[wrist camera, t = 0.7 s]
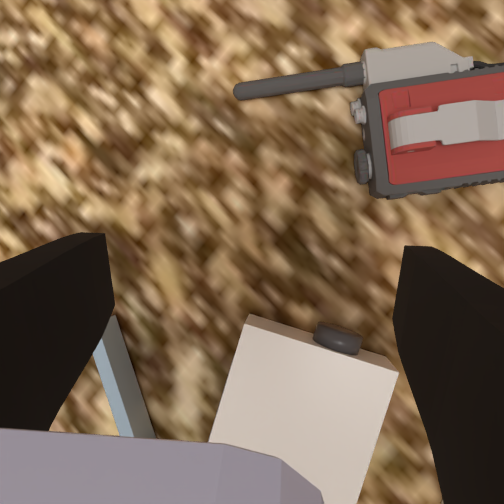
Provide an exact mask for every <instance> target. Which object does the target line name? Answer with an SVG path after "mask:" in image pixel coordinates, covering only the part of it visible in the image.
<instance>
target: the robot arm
mask: <svg viewBox="0 0 504 504" xmlns="http://www.w3.org/2000/svg"><path fill="white" fill-rule="evenodd" d="M114 306H115V301H114V294H113V287H112V280H111V272H110V265H109V258H108V251H107V244H106V237H105V233H83V232H81V233H76V234H72V235H69V236H66V237H63V238H60V239H57V240H55V241H52V242H50V243H47V244H45V245H42V246H40V247H37V248H35V249H32V250H30V251H28V252H25V253H23V254H20V255H18V256H15V257H13V258H10V259H8V260H5V261H2V262H0V504H324V501H323V497H322V494H321V491H320V490H319V489H318V488H317V487H315V486H314V485H313V484H312V483H310V482H309V481H308V480H307V479H305V478H304V477H303V476H302V475H300V474H299V473H298V472H297V471H295V470H294V469H293V468H292V467H290V466H289V465H288V464H287V463H285V462H284V461H283V460H282V459H280V458H278V457H276V456H272V455H268V454H264V453H260V452H257V451H253V450H249V449H245V448H241V447H237V446H234V445H230V444H226V443H211V442H197V441H183V440H168V439H154V438H140V437H125V436H111V435H97V434H82V433H68V432H54V431H49V429H50V426H51V424H52V422H53V421H54V419H55V417H56V415H57V413H58V411H59V409H60V408H61V406H62V404H63V403H64V401H65V399H66V398H67V396H68V394H69V393H70V391H71V389H72V388H73V386H74V384H75V383H76V381H77V379H78V377H79V376H80V374H81V372H82V371H83V369H84V367H85V366H86V364H87V362H88V361H89V359H90V357H91V356H92V354H93V352H94V350H95V349H96V347H97V345H98V344H99V342H100V340H101V338H102V336H103V334H104V332H105V329H106V327H107V324H108V322H109V319H110V317H111V314H112V311H113V309H114ZM392 319H393V325H394V331H395V337H396V342H397V347H398V352H399V355H400V358H401V362H402V364H403V367H404V370H405V373H406V376H407V379H408V382H409V385H410V388H411V390H412V393H413V396H414V399H415V402H416V405H417V407H418V410H419V413H420V416H421V419H422V422H423V424H424V427H425V430H426V433H427V436H428V440H429V443H430V446H431V450H432V454H433V458H434V462H435V467H436V471H437V476H438V480H439V484H440V489H441V493H442V498H443V503H444V504H504V288H502V287H501V286H499V285H497V284H495V283H494V282H492V281H490V280H489V279H487V278H485V277H484V276H482V275H480V274H479V273H477V272H475V271H474V270H472V269H470V268H469V267H467V266H465V265H464V264H462V263H461V262H459V261H457V260H456V259H454V258H452V257H451V256H449V255H447V254H445V253H444V252H442V251H440V250H438V249H436V248H433V247H428V246H404V252H403V258H402V264H401V270H400V276H399V282H398V288H397V294H396V300H395V306H394V312H393V318H392Z"/></svg>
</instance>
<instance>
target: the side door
mask: <svg viewBox="0 0 504 504" xmlns="http://www.w3.org/2000/svg"><path fill="white" fill-rule="evenodd" d="M93 356H94V359H95V362H96V365H97V368H98V371H99V374H100V377H101V380H102V383H103V386H104V389H105V392H106V395H107V398H108V401H109V404H110V407H111V411H112V414H113V417H114V420H115V423H116V426H117V429H118V432H119V435H120V436H125V437H140V438H154V439H156V437H155V434H154V431H153V428H152V425H151V421H150V418H149V415H148V412H147V409H146V406H145V403H144V400H143V397H142V394H141V391H140V388H139V385H138V382H137V379H136V376H135V373H134V370H133V367H132V364H131V361H130V358H129V355H128V352H127V349H126V346H125V343H124V340H123V337H122V333H121V330H120V327H119V324H118V321H117V318H116V315H114V316H111V317H110V319H109V322H108V324H107V327H106V329H105V332H104V334H103V336H102V338H101V340H100V342H99V344H98V345H97V347H96V349H95V350H94V352H93Z"/></svg>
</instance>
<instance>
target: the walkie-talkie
mask: <svg viewBox="0 0 504 504" xmlns="http://www.w3.org/2000/svg"><path fill="white" fill-rule="evenodd" d="M341 85H343V86H344V87H350V86H356V85H363V90H364V92H363V94H362V96H361V98H359V99H357V101H355V102H351V103H350V110H351V115H352V116H354V117H355V122H356V123H361V126H362V134H363V143H364V150H363V149H361V150H356V152H355V154H354V169H355V175H356V179H357V182H358V183H359V184H360V185H361V184H366V183H367V182H368V185H369V193H370V195H371V196H373V197H375V198H377V199H379V198H387V200H390V199H398V198H403V197H405V196H406V195H409V194H417V193H418V194H420V195H428V194H436V193H439V192H441V190H447V189H451V188H454V189H455V188H460V187H468V186H471V185H472V186H476V185H480V184H481V185H485V184H489V183H490V184H493V183H497V182H500V183H501V182H504V63H497V64H486V63H484V62H481V61H473V57H472V56H471V57H464V58H463V57H461V56H460V55H458V54H456V53H454V52H452V51H450V50H448V49H446V48H445V47H443V46H441V45H439V44H437V43H435V42H428V43H421V44H415V45H408V46H401V47H395V48H388V49H379V48H371V49H365V50H364V52H363V54H362V57H361V59H360V62H355V63H349V64H343V65H342V66H341V67H339V68H332V69H326V70H320V71H313V72H307V73H300V74H294V75H287V76H281V77H274V78H268V79H261V80H255V81H248V82H242V83H238V84H236V85H235V87H234V89H233V94H234V96H235V97H236V98H237V99H238V100H247V99H254V98H260V97H267V96H274V95H281V94H287V93H294V92H301V91H308V90H314V89H321V88H328V87H335V86H341Z"/></svg>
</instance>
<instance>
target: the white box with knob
mask: <svg viewBox="0 0 504 504" xmlns="http://www.w3.org/2000/svg"><path fill="white" fill-rule="evenodd" d="M362 340H363V337H362V336H361V335H359V334H357V333H355V332H353V331H351V330H348V329H346V328H343V327H340V326H337V325H333V324H330V323H325V322H318V323H317V326H316V329H315V332H314V334H313V333H310V332H306V331H303V330H300V329H297V328H294V327H291V326H287V325H284V324H281V323H278V322H275V321H272V320H268V319H265V318H262V317H259V316H256V315H253V314H249V315H248V317H247V319H246V321H245V323H244V326H243V330H242V333H241V336H240V339H239V343H238V346H237V349H236V352H235V354H234V357H233V361H232V364H231V367H230V371H229V374H228V377H227V380H226V384H225V387H224V390H223V394H222V397H221V400H220V403H219V407H218V410H217V413H216V417H215V420H214V423H213V426H212V430H211V433H210V436H209V440H208V442H211V443H226V444H230V445H234V446H237V447H241V448H245V449H249V450H253V451H257V452H260V453H264V454H268V455H272V456H276V457H278V458H280V459H282V460H283V461H284V462H285V463H287V464H288V465H289V466H290V467H292V468H293V469H294V470H295V471H297V472H298V473H299V474H300V475H302V476H303V477H304V478H305V479H307V480H308V481H309V482H310V483H312V484H313V485H314V486H315V487H317V488H318V489H319V490H320V491H321V494H322V497H323V501H324V504H356V503H357V500H358V497H359V494H360V491H361V488H362V485H363V482H364V479H365V476H366V473H367V470H368V466H369V463H370V460H371V457H372V454H373V451H374V448H375V445H376V442H377V439H378V436H379V433H380V430H381V426H382V423H383V420H384V417H385V414H386V411H387V408H388V405H389V402H390V399H391V396H392V393H393V390H394V386H395V383H396V380H397V377H398V374H399V372H398V371H397V369H396V368H395V367H394V366H393V364H392V363H391V362H390V361H389V359H388V358H387V357H386V356H383V355H379V354H376V353H373V352H370V351H367V350H364V349H360V346H361V343H362Z"/></svg>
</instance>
